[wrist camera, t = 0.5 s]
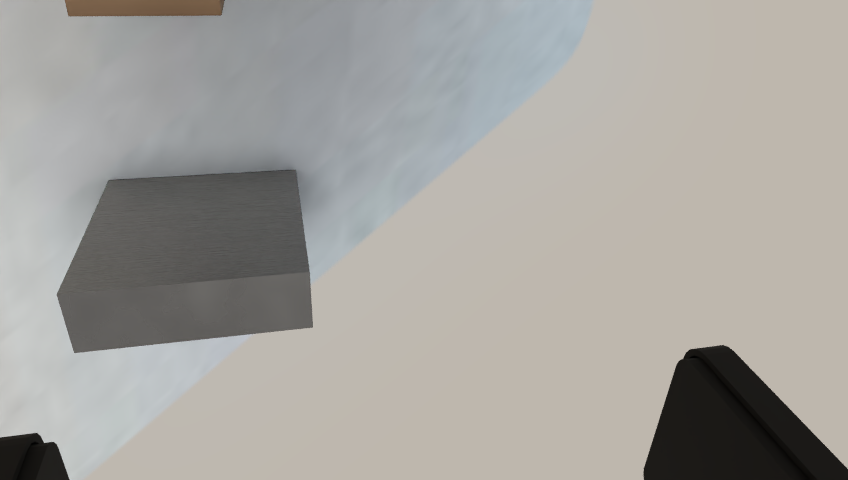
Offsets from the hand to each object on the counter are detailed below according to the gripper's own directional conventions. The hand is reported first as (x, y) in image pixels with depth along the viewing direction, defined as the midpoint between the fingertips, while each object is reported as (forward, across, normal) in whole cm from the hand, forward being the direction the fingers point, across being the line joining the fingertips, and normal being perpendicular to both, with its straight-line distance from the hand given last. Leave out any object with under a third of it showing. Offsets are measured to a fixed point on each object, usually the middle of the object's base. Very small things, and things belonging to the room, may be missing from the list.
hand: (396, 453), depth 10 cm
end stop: (+28, +5, +9) cm, 30 cm away
